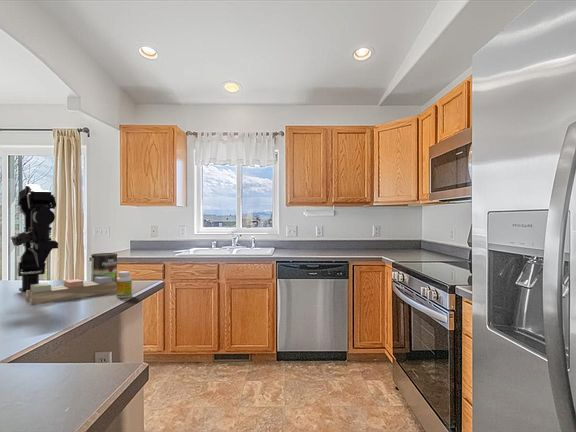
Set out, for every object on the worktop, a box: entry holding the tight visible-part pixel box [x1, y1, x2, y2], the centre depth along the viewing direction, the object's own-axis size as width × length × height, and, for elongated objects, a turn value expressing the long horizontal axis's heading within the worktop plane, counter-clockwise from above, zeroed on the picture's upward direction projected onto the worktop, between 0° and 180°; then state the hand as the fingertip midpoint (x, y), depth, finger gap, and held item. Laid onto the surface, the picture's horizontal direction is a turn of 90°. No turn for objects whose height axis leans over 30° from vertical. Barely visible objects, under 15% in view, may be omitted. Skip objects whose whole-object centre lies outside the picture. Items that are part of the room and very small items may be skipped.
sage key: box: [31, 282, 52, 293], centre depth 132 cm, size 5×5×4 cm
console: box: [25, 281, 117, 306], centre depth 140 cm, size 7×29×4 cm, turn 140°
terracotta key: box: [63, 278, 84, 288], centre depth 140 cm, size 5×5×4 cm
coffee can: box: [90, 252, 118, 286], centre depth 159 cm, size 10×10×14 cm
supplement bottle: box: [115, 270, 133, 299], centre depth 141 cm, size 5×5×10 cm
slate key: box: [94, 276, 112, 284], centre depth 149 cm, size 5×5×4 cm
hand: (40, 267), depth 132 cm, fingers closed
